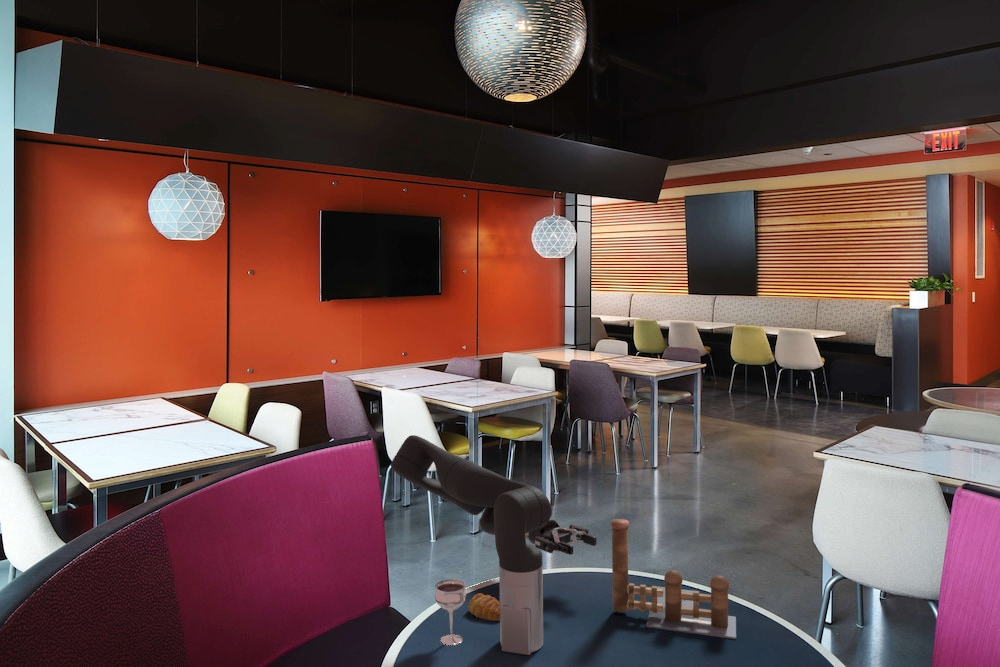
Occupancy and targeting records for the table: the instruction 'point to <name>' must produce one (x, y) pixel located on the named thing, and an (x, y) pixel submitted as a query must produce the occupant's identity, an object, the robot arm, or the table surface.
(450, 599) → the wineglass
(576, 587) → the table surface
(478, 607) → the pastry
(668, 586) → the fixed fence
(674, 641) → the table surface
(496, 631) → the table surface
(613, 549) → the wooden fence section
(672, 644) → the table surface
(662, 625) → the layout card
